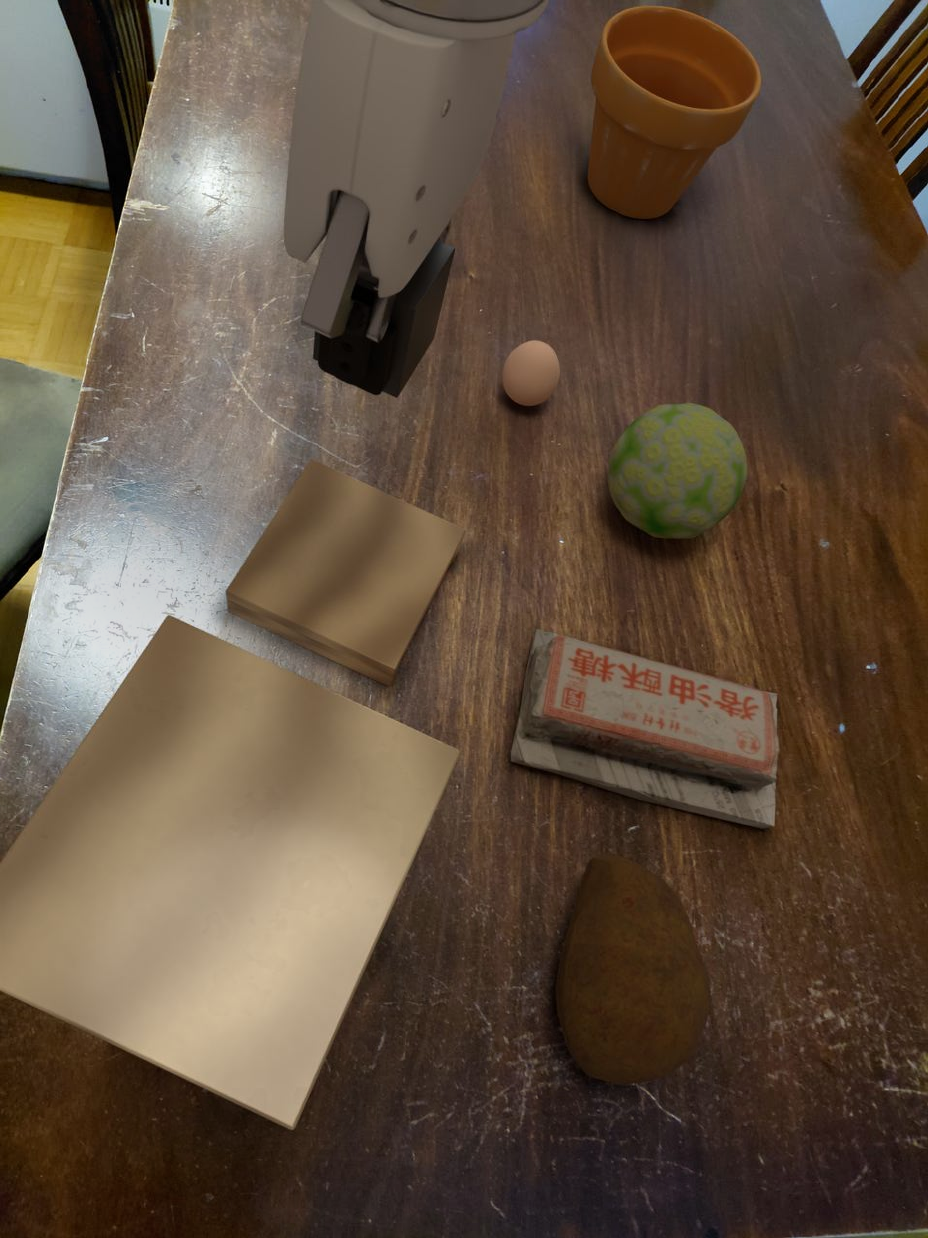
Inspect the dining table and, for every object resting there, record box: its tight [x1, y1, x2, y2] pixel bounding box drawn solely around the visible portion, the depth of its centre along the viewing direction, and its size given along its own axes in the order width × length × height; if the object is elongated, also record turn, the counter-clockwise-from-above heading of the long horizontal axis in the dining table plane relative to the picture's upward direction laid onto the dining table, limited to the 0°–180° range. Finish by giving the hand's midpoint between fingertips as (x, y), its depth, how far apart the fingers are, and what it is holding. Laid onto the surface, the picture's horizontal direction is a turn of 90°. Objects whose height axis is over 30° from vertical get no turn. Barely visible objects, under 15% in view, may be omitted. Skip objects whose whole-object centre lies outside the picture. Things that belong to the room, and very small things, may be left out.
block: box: [312, 240, 456, 399], centre depth 41 cm, size 4×4×6 cm
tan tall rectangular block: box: [0, 614, 461, 1131], centre depth 39 cm, size 10×11×30 cm
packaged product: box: [510, 628, 781, 829], centre depth 61 cm, size 18×5×10 cm
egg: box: [501, 339, 561, 407], centre depth 72 cm, size 4×4×6 cm
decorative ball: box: [607, 402, 748, 540], centre depth 67 cm, size 10×10×10 cm
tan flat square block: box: [225, 458, 467, 688], centre depth 63 cm, size 12×12×3 cm
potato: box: [555, 851, 712, 1087], centre depth 51 cm, size 8×12×9 cm
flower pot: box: [587, 5, 762, 220], centre depth 83 cm, size 14×14×13 cm
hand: (375, 339), depth 43 cm, fingers closed on block, 4 cm apart
